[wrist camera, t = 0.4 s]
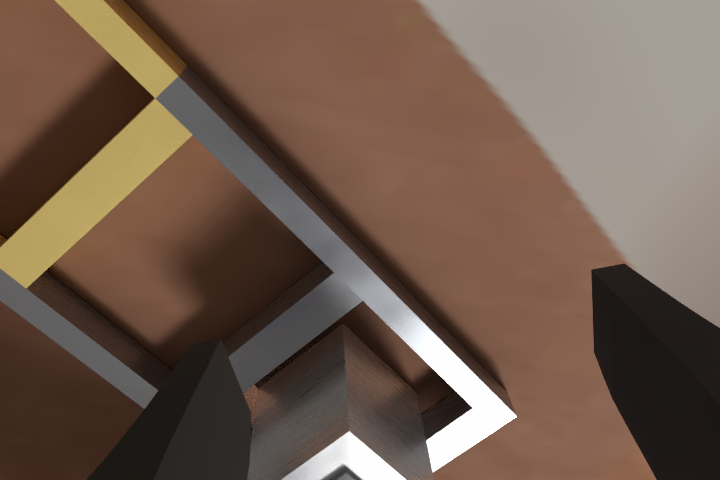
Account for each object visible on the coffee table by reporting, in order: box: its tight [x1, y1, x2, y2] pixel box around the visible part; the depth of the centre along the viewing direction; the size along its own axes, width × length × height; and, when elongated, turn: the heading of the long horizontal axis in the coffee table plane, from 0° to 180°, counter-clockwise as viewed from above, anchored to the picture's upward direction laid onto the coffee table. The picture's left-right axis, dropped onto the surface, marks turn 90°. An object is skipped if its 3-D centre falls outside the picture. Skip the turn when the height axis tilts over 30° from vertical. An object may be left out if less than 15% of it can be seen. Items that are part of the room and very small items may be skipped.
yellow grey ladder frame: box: [0, 0, 517, 472], centre depth 24 cm, size 10×26×2 cm, turn 41°
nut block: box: [247, 323, 434, 480], centre depth 25 cm, size 4×4×6 cm
